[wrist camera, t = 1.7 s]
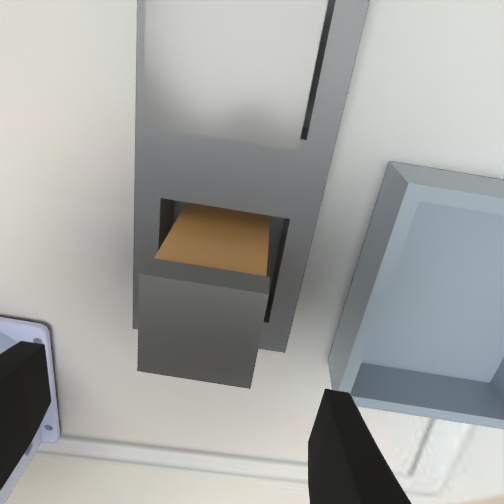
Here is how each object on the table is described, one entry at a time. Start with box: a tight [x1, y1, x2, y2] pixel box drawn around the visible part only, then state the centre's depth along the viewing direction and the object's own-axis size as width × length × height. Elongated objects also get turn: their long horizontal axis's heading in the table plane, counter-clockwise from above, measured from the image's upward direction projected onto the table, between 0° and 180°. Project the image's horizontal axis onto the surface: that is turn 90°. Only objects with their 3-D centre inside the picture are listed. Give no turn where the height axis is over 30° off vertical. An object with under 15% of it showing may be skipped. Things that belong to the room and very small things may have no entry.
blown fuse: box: [137, 202, 270, 389], centre depth 16 cm, size 4×4×7 cm
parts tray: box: [328, 161, 504, 429], centre depth 19 cm, size 11×9×3 cm
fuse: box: [143, 0, 328, 152], centre depth 12 cm, size 4×4×7 cm
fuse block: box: [133, 0, 370, 353], centre depth 16 cm, size 16×7×3 cm, turn 172°
